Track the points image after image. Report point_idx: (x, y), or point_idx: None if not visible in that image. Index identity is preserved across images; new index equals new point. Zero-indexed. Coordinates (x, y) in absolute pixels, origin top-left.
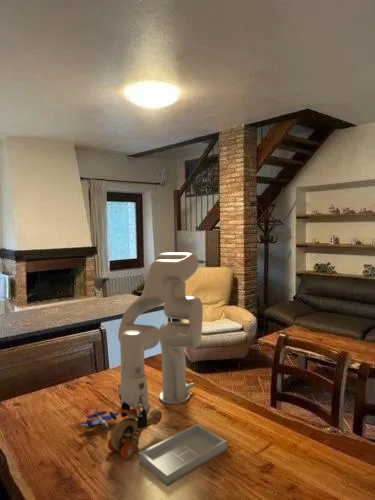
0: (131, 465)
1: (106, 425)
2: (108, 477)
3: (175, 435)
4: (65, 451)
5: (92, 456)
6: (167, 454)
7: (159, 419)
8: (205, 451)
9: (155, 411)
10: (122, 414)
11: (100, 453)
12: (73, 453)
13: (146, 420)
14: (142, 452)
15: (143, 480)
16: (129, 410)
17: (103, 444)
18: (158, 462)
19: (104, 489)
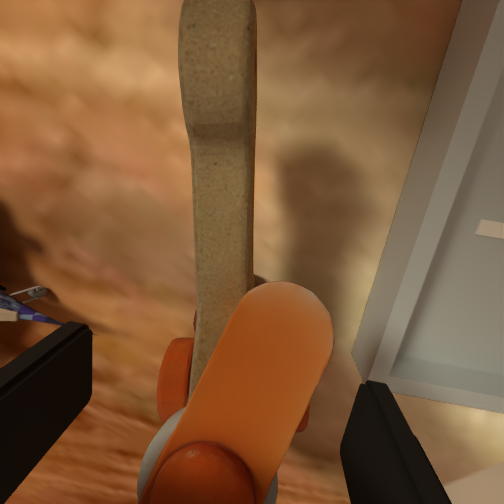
0: (336, 382)
1: (13, 319)
2: (312, 463)
3: (470, 116)
4: (59, 451)
5: (160, 423)
6: (465, 254)
7: (256, 63)
8: None
9: (230, 79)
10: (69, 420)
11: None
12: (91, 445)
13: (407, 432)
14: (382, 377)
15: (446, 416)
16: (58, 363)
17: (119, 354)
18: (456, 327)
19: (347, 501)
